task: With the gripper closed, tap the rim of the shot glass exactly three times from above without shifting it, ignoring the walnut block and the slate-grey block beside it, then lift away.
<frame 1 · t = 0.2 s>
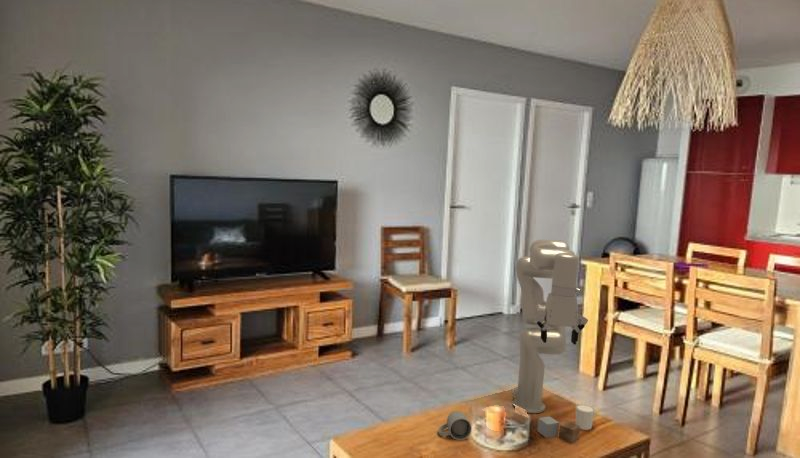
hand: (558, 342, 177), 37 cm above the table, tool pointing down, fingers open, 9 cm apart
slate block: (547, 433, 192), on the table
ceramic mug: (454, 435, 187), on the table
walnut block: (568, 438, 189), on the table
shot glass: (583, 426, 199), on the table
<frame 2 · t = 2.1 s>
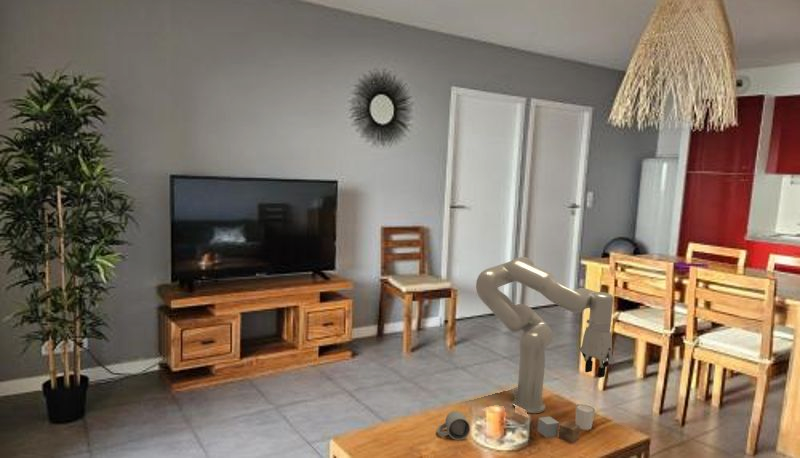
hand: (594, 373, 199), 19 cm above the table, tool pointing down, fingers open, 4 cm apart
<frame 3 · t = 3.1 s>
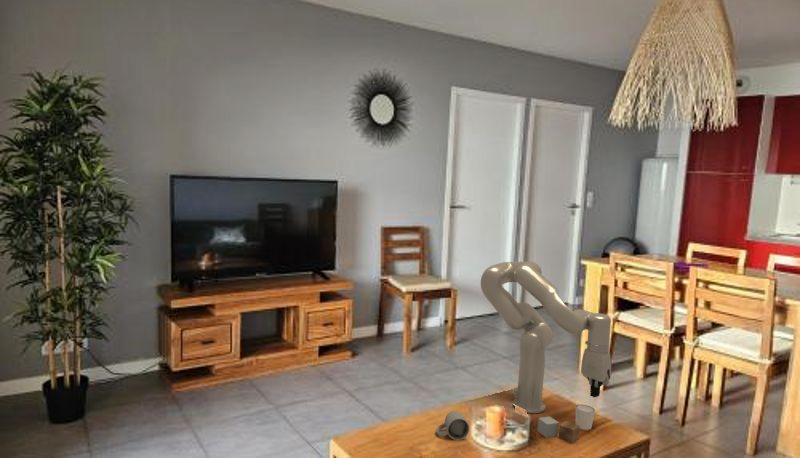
hand: (594, 395, 200), 11 cm above the table, tool pointing down, fingers closed
nothing on the table moved.
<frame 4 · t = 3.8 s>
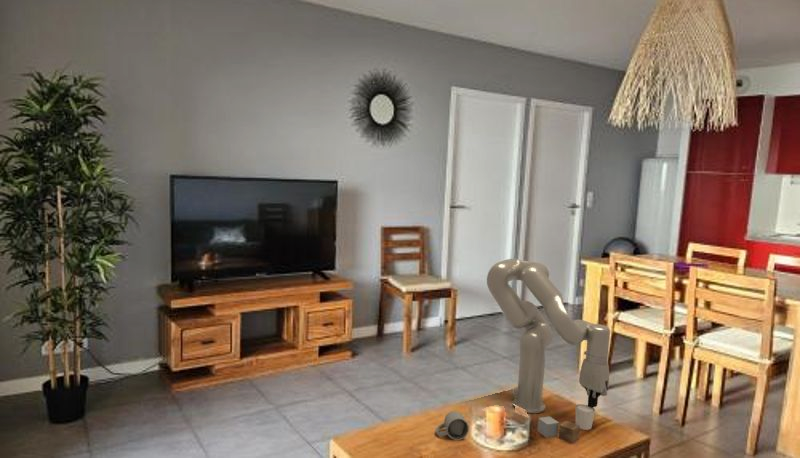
hand: (592, 406, 200), 7 cm above the table, tool pointing down, fingers closed
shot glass: (583, 426, 199), on the table, touching gripper
everything else where it was.
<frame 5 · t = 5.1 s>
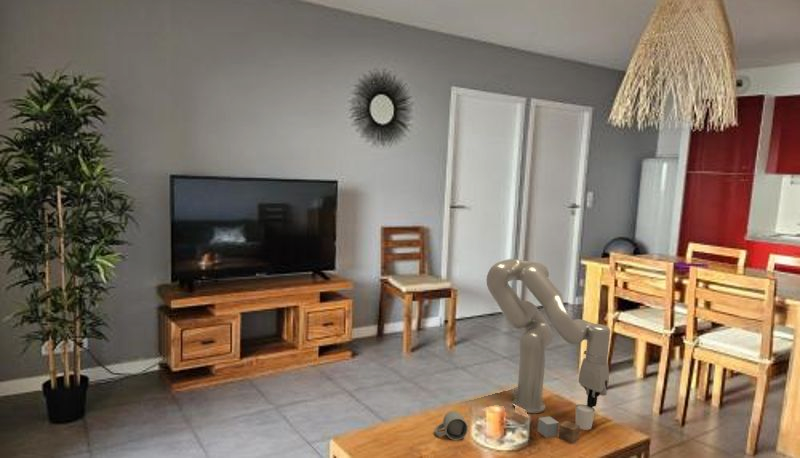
hand: (591, 405, 200), 7 cm above the table, tool pointing down, fingers closed
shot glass: (583, 426, 199), on the table
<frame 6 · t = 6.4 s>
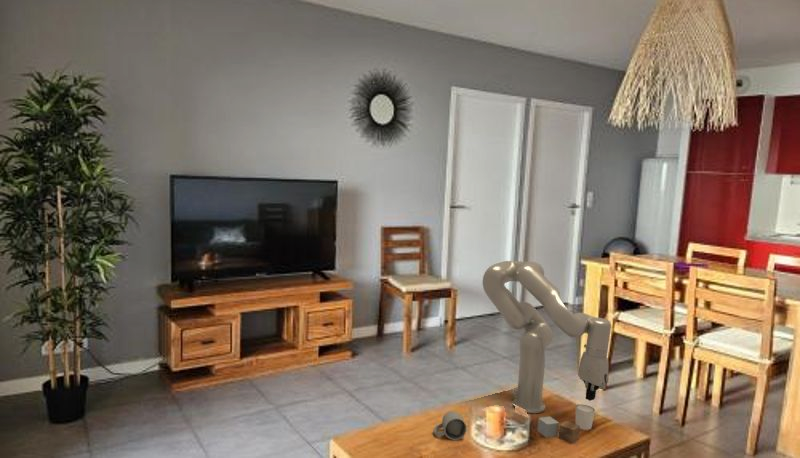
hand: (590, 399, 201), 9 cm above the table, tool pointing down, fingers closed
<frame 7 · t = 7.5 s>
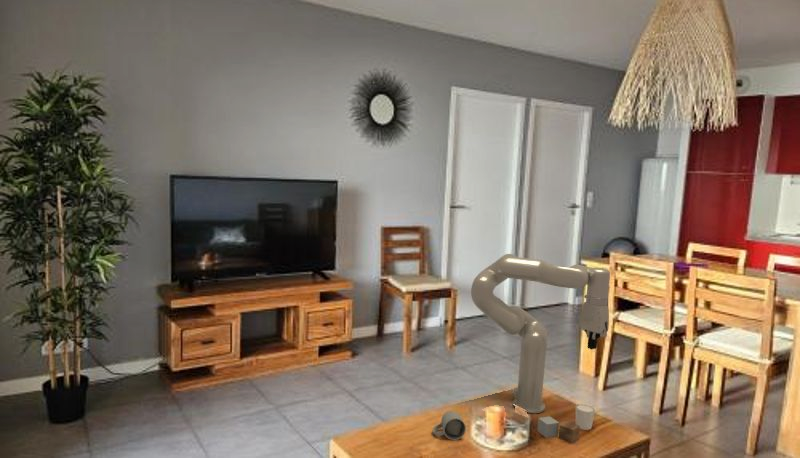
hand: (591, 348, 204), 27 cm above the table, tool pointing down, fingers closed
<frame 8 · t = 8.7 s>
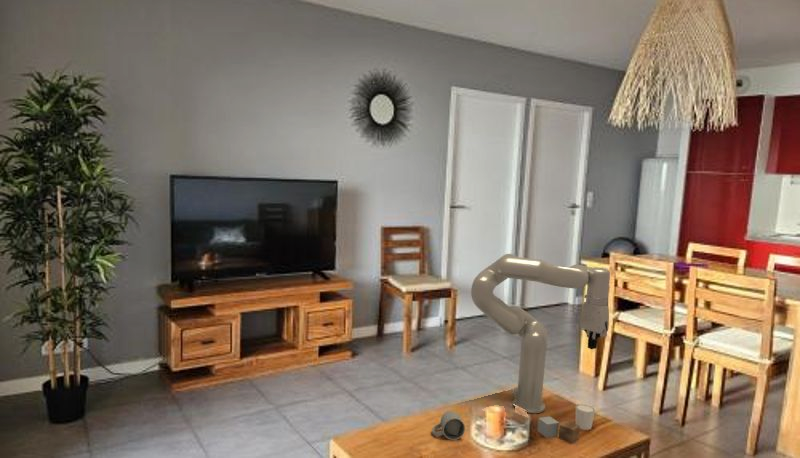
hand: (591, 348, 204), 27 cm above the table, tool pointing down, fingers closed
at the end: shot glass moved 0.2 cm from its start; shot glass tilted 0°; the gripper is holding nothing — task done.
